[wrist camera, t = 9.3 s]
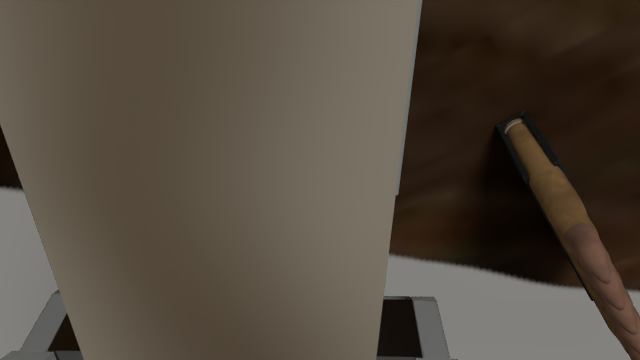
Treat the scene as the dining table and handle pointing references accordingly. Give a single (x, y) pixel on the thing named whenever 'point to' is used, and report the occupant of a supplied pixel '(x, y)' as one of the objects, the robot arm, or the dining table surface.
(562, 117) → the dining table surface
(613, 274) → the ammunition clip
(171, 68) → the tan bar
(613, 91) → the dining table surface
